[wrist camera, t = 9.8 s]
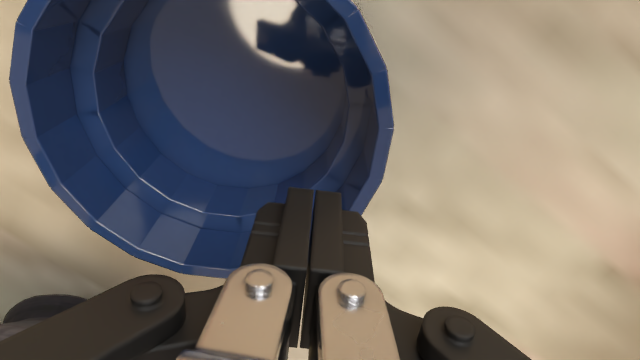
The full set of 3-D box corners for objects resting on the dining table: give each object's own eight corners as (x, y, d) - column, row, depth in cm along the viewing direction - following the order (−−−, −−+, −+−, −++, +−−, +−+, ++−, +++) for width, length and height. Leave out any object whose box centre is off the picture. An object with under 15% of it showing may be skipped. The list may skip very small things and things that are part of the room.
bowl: (401, -48, 19) (433, -54, 13) (351, 217, 25) (358, 293, 19) (80, -93, 18) (-37, -120, 12) (114, 190, 25) (48, 260, 19)
